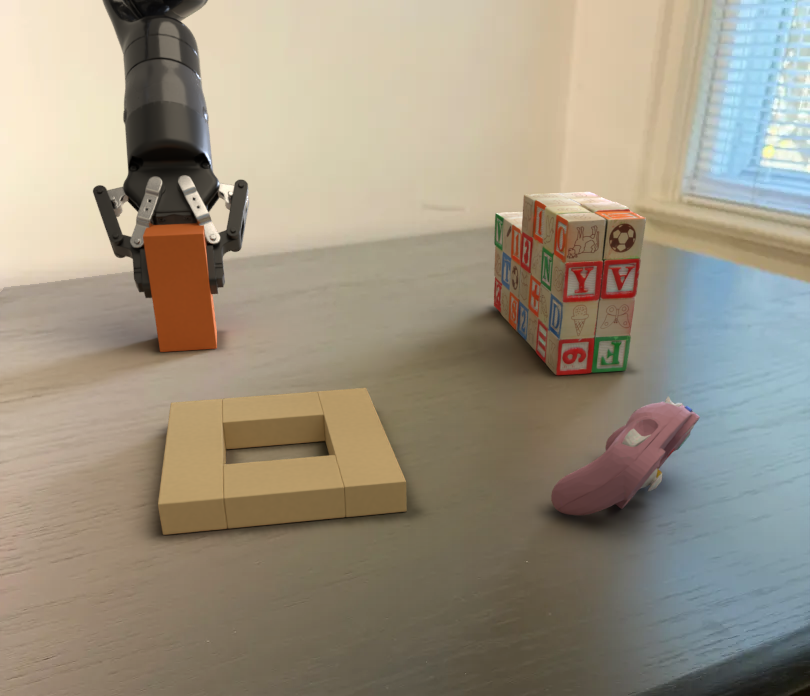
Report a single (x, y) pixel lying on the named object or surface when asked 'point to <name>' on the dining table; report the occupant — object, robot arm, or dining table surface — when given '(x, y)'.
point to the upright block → (180, 287)
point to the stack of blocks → (570, 278)
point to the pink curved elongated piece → (627, 460)
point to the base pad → (276, 462)
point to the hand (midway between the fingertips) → (180, 290)
